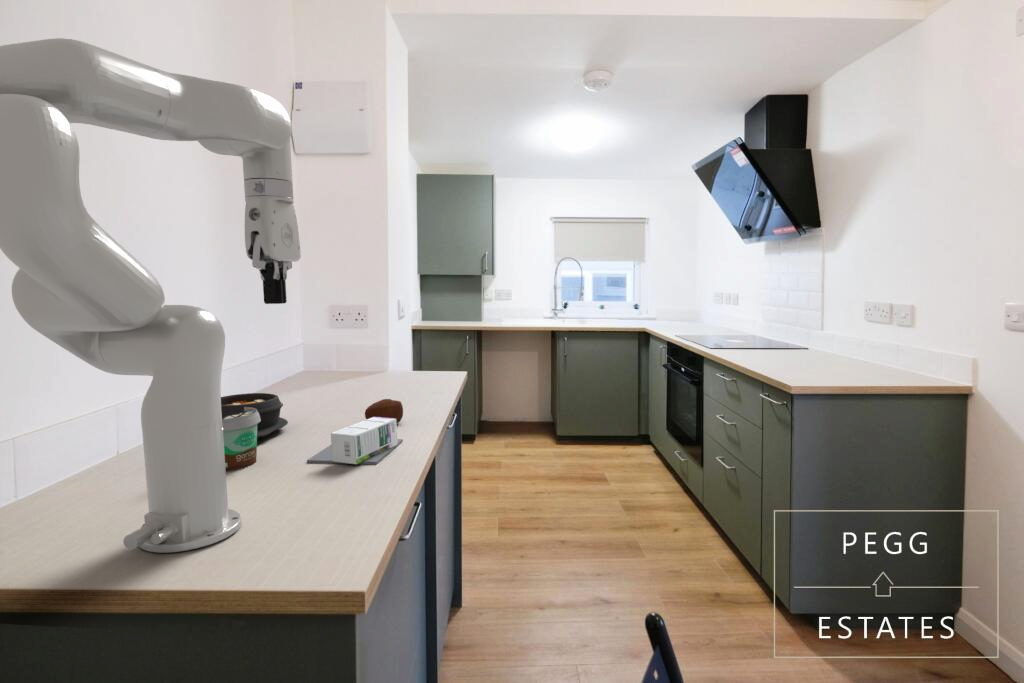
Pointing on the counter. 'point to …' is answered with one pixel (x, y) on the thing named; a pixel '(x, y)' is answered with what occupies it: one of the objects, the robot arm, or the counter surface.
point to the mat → (326, 457)
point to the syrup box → (363, 440)
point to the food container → (240, 438)
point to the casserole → (265, 406)
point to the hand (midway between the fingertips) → (275, 303)
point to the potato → (385, 410)
